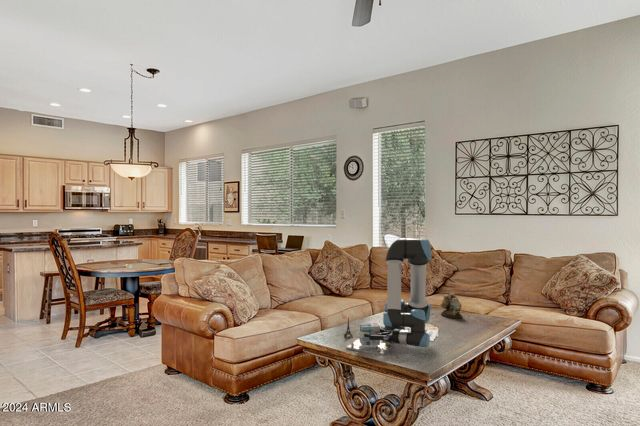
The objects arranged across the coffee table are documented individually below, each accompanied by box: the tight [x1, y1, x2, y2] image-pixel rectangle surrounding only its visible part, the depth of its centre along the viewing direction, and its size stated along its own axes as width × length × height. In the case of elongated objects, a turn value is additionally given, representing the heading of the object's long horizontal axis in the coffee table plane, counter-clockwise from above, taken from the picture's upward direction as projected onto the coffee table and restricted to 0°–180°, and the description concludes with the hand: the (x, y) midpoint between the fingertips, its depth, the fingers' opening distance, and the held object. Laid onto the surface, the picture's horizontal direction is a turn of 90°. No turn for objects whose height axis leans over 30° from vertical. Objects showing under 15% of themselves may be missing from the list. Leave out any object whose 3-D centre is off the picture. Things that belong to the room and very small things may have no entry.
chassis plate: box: [345, 338, 394, 356], centre depth 246 cm, size 16×22×3 cm
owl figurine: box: [440, 292, 464, 320], centre depth 315 cm, size 18×12×17 cm, turn 34°
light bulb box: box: [359, 322, 381, 346], centre depth 246 cm, size 11×7×11 cm, turn 96°
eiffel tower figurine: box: [335, 317, 360, 339], centre depth 267 cm, size 15×10×13 cm
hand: (363, 331), depth 248 cm, fingers closed on light bulb box, 11 cm apart
